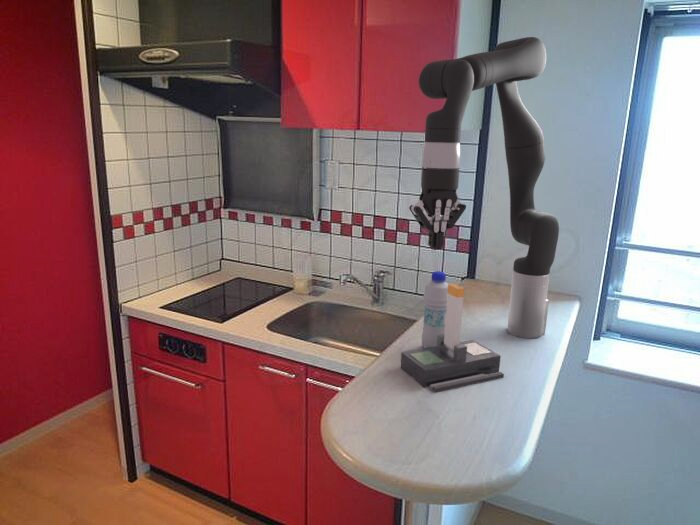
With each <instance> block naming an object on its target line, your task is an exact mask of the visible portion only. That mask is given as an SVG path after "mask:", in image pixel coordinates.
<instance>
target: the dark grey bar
mask: <svg viewBox="0 0 700 525" xmlns="http://www.w3.org/2000/svg"><path fill="white" fill-rule="evenodd" d="M504 376H505V373H503V372H500V371H499V372H497V373H492V374H487V375H485V374H479V375H474V376H470V377H465V378H460V379H455V380H450V381H446V382H441V383H436V384H431V385H430V387H429V389H431V391H432V392H434V393H440V392H444V391H448V390H453V389H454V390H455V389H458V388H462V387H467V386H471V385H476V384H481V383H485V382H486V383H487V382H490V381H495V380H500V379H503V378H504Z"/></svg>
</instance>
